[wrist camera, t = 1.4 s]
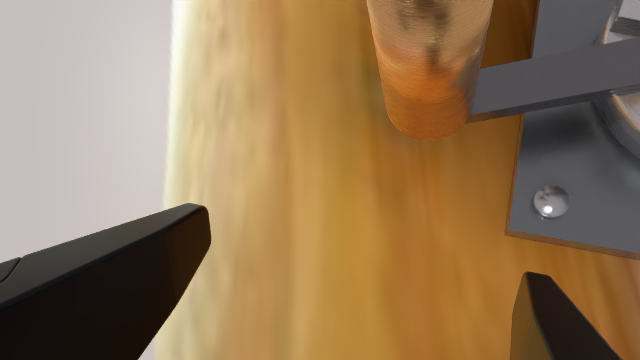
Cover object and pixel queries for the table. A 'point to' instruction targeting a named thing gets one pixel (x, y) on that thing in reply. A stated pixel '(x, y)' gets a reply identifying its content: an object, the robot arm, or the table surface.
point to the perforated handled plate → (498, 70)
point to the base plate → (573, 154)
